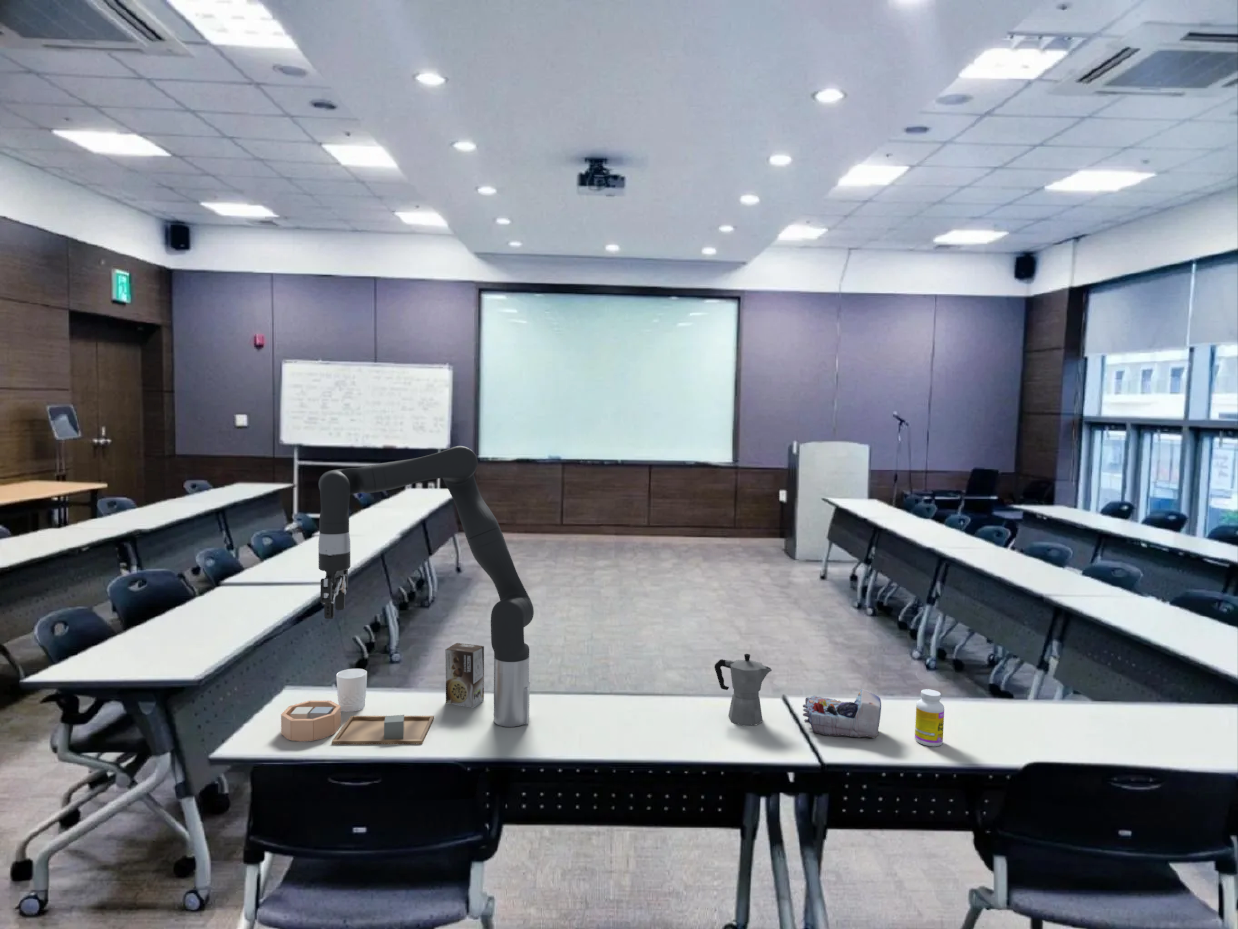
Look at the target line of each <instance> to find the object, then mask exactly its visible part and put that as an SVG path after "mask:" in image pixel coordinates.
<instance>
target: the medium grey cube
mask: <svg viewBox="0 0 1238 929" xmlns="http://www.w3.org/2000/svg"><path fill="white" fill-rule="evenodd" d="M384 716H385V721H384V740H392V739H404V716H405V714H397V715H396V714H395V715H384Z"/></svg>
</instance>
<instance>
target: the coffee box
mask: <svg viewBox="0 0 1238 929" xmlns="http://www.w3.org/2000/svg"><path fill="white" fill-rule="evenodd" d="M444 656H445V704H448V705H453V706H454V705H455V706H460V707H461V706H462V707H468V708H475V707H477V706H478V705H480V704H481V703H483V702H484V701H485V646H484V645H477V644H471V643H470V644H468V643H460V642H456V643H454V644H452V645H450V646H449V647H447V648H446V649H445V655H444Z"/></svg>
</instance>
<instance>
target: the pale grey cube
mask: <svg viewBox="0 0 1238 929" xmlns="http://www.w3.org/2000/svg"><path fill="white" fill-rule="evenodd" d="M312 710H313V707H297V708H296V709H295V710H294V711H293V712H292V713H291V714H290V716H291V717H292V718H293V719H310V712H311V711H312Z"/></svg>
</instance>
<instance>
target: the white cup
mask: <svg viewBox="0 0 1238 929" xmlns="http://www.w3.org/2000/svg"><path fill="white" fill-rule="evenodd" d="M367 679H368V671H367V670H365V669H363V668H348V669H344V670H343V669H342V670H340V671H338V672H337V673H336V690H337V693H336V694H337V704H338V705H340V706H341V712H346V713H353V712H357V711H360V710H363V709H364V708H365V707H366V698H367V697H366V696H367V681H368V680H367Z"/></svg>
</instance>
